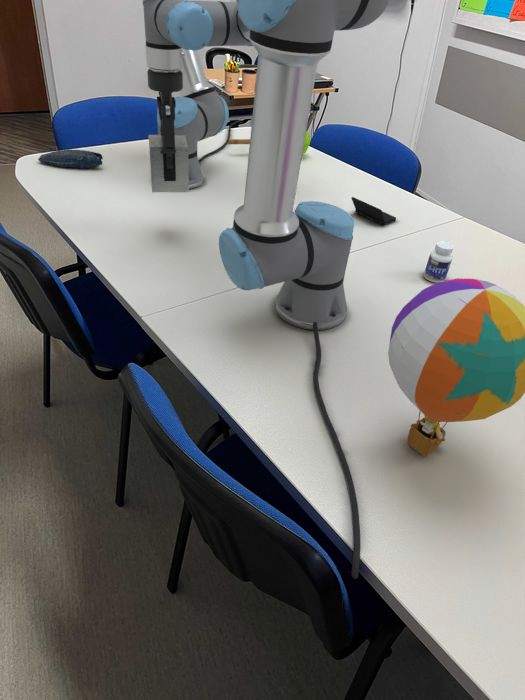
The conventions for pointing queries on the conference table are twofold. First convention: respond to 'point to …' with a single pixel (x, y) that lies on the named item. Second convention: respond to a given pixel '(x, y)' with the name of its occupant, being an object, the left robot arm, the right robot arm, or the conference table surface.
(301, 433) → the conference table surface
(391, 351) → the toy
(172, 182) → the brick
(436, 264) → the pill bottle
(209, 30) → the right robot arm
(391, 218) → the handheld gaming console
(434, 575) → the conference table surface
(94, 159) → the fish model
